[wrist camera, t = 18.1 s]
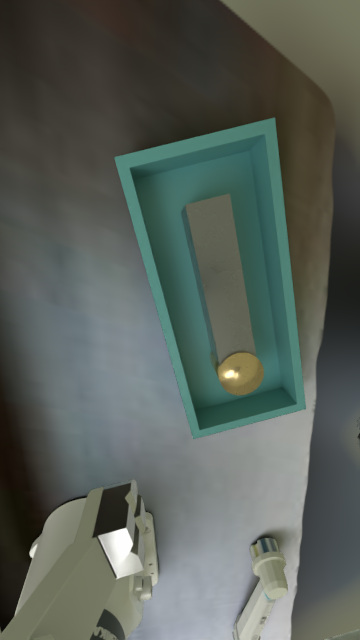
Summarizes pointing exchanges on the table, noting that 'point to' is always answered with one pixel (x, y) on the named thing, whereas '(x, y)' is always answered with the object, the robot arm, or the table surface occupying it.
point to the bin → (256, 259)
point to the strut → (222, 293)
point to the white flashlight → (262, 589)
